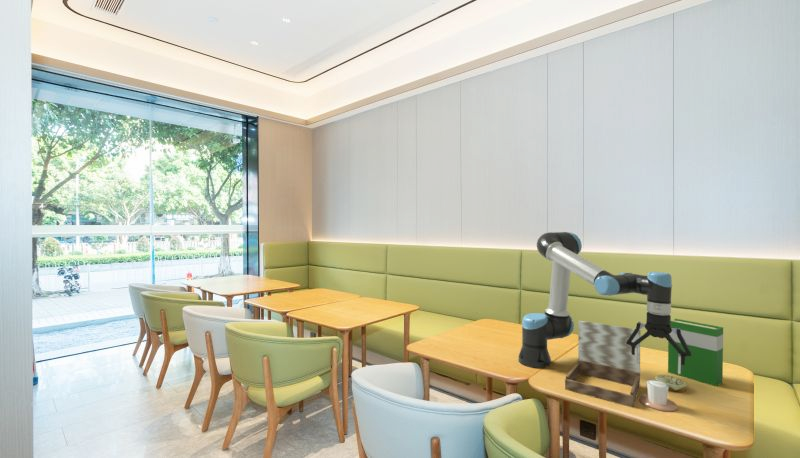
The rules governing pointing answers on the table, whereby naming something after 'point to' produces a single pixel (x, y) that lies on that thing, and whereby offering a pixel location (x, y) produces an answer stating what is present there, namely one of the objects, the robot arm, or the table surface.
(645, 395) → the terracotta saucer
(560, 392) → the table surface
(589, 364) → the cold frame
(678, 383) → the decorated donut
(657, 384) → the shot glass
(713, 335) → the hardback book
